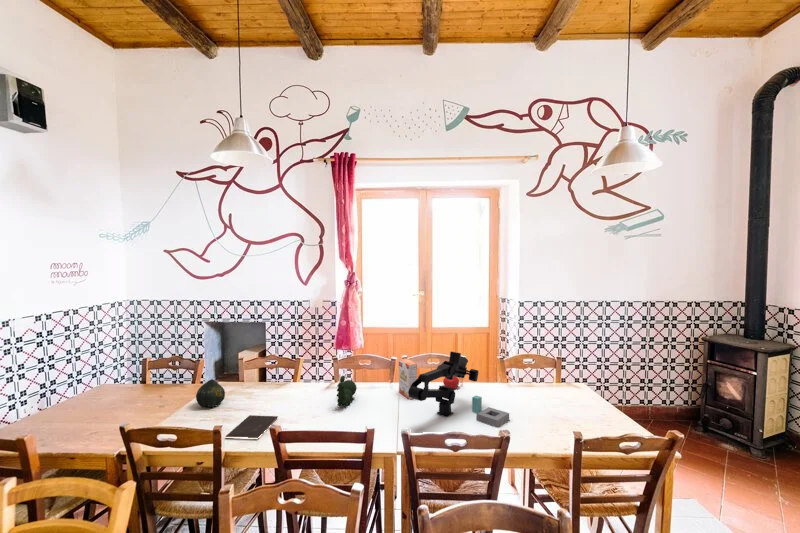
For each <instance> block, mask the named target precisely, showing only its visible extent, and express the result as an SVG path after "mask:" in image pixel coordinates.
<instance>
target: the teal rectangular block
mask: <svg viewBox="0 0 800 533" xmlns="http://www.w3.org/2000/svg"><path fill="white" fill-rule="evenodd" d="M471 398H472V399H471V401H472V402H471V404H472V405H471V407H472V410H471V411H472V413H475V414H477V413H479V412H481V411H482V410H483V406H482V396H479V395H474V396H472V397H471Z"/></svg>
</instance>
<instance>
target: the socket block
mask: <svg viewBox="0 0 800 533" xmlns="http://www.w3.org/2000/svg"><path fill="white" fill-rule="evenodd" d="M475 414H476V415H475V416H476V418H475V419H476V421H477V422H480V423H483V424H485V425H486V424H487V425H488V426H492V427H495V428H499V427H501V426H502V425H504V424H505V423H506V422H508V421H510V413H509V412H507V411H504V410H500V409H497V408H494V407H490V406H488V407H485V409H484V408H483V409H482V411H481V412H479V413H475Z"/></svg>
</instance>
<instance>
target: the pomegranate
mask: <svg viewBox="0 0 800 533" xmlns="http://www.w3.org/2000/svg"><path fill="white" fill-rule="evenodd" d="M459 383H460V379H459V377H454V376H453V379H452V380H449V379H447V378H446V377H443V380H442V384H443V385H444V386H447V387H451V388H453V389H454V390H455V389H457V388H458V386H459Z"/></svg>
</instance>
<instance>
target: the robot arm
mask: <svg viewBox="0 0 800 533" xmlns="http://www.w3.org/2000/svg"><path fill="white" fill-rule="evenodd" d="M468 363H469V360H468V358H467V357H465V356H462V353H461V352H456V351H450V352H449V361H448V360H444V361H443V362H442V363H441V364H438V366H437V367H436V368H435V369H431V370H430V371H427V372H425V373H420V374H419V375H418V376H417V379H416V380H415V381H414V382H413V383H412V385H411V387H410V388H409V391H408V394H409V397H410V398H413V399H412V400H417V401H420V402H423V401H426V400H427V399H428V398H429V399H432V398H433V399H434V398H435V402H437V403H438V411H437V412H436V414H437V415H439V416H442V417H444V418H447V417H449V416H451V415H453V414H454V412H453V411H452V404H453V405H454V403H455V399H456V391H455V389H453V388H451V387H447V386H444V384H443V385H438V388H430V386H429V384H430V382H432V381H434V380H437V379H440V378H445V377H446V378H447V379H449V380H452V379H453V376H454V377H457V378H458V379H459V378H460V379H461V378H462V379H465V377H466V375H467V376H468V380H469V381H471V382H478V378H479V370H478V369H475V368H470V370H469V369H467V365H468ZM422 383H423V384H424V387H423V388H421V387H418V386H419V385H420V384H422Z"/></svg>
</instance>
